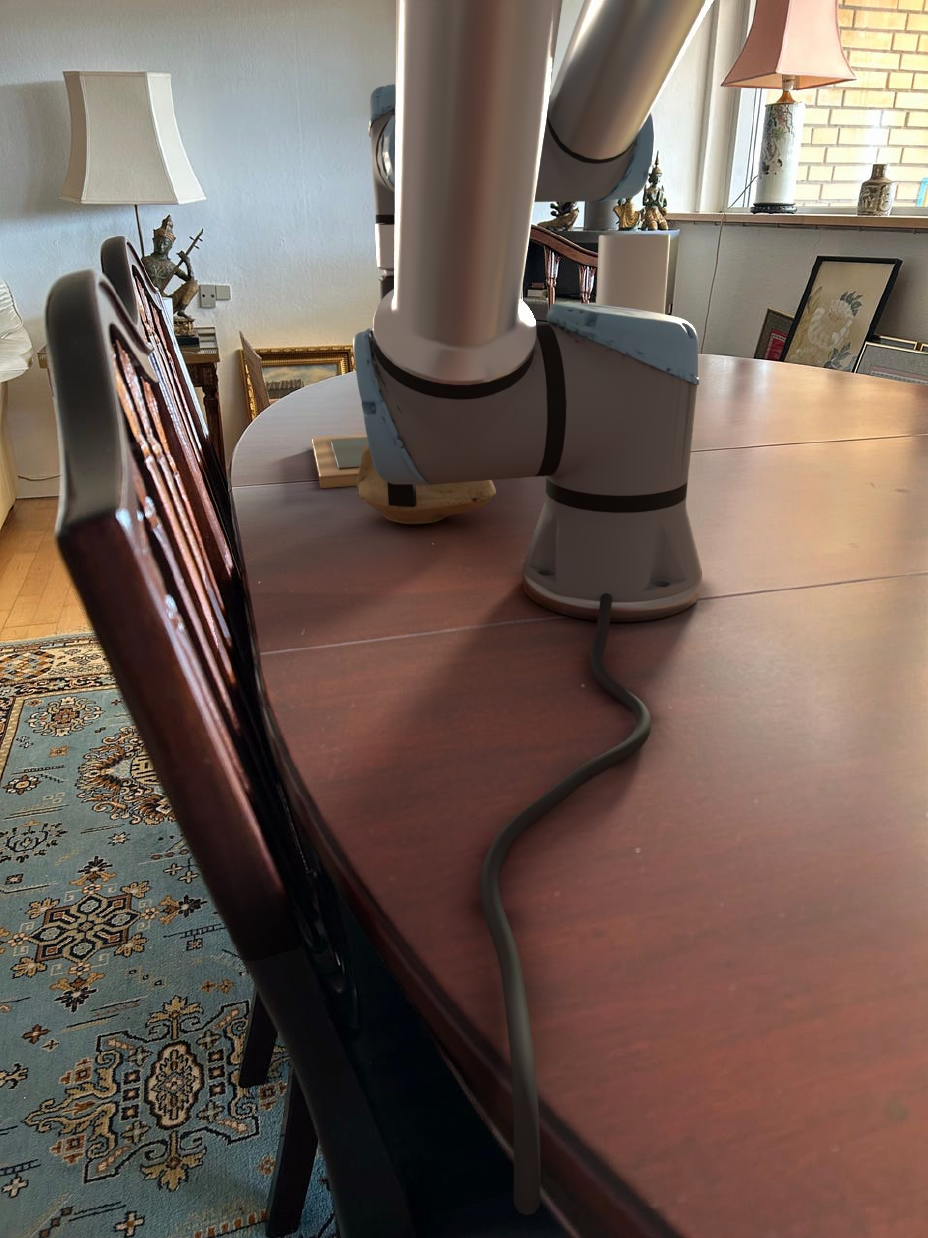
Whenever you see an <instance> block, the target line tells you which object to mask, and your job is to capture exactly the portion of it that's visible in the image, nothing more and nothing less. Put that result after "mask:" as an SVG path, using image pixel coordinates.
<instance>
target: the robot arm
mask: <svg viewBox="0 0 928 1238" xmlns="http://www.w3.org/2000/svg"><path fill="white" fill-rule="evenodd" d="M713 1H714V0H583V2H582V6H581V8H580V11H579V13H578V16H577V19H576V22H575V25H574V27H573V30H572V33H571V36H570V39H569V41H568V44H567V47H566V50H565V52H564V55H563V58H562V61H561V64H560V67H559V69H558V72H557V74H556V78H555V79H554V80H555V81H554V83H553V86H552V79H553V71H554V64H555V58H556V57H555V55H556V51H557V45H558V44H557V43H558V35H559V30H560V22H561V15H562V8H563V0H395V83H394V84H392V83H391V84H387V85H385V86H384V85H382V86H378V87H376V88H375V89H373V91H372V92H371V94H370V97H369V125H368V136H369V138H370V147H371V150H370V151H371V167H372V181H373V192H374V205H375V224H374V225H375V227H374V228H375V245H376V246H375V247H376V266H377V268H378V269H379V270H381V271H383V275H381V276H380V278H379V279H378V290H379V291H378V295H379V303H378V304H377V306H376V309H375V312H374V315H373V318H372V327H373V328H370V327H368V328H366V329H365V330H364V331H359V332H357V333H356V334H355V335H354V336H353V338H352V351H353V360H354V368H355V375H356V380H357V381H356V382H357V387H358V394H359V397H360V400H361V409H362V413H363V421H364V428H365V432H366V435H367V438H368V443H369V448H370V453H371V457H372V461H373V465H374V468H375V470H376V472H377V474H378V475H379V476H380V477H381V478H382V479H383V480H384V481H386V482H387V485H388V503H389V505H391V506H403V507H415V506H416V505H417V502H416V484H418V485H424V486H428V485H430V486H432V485H434V484H445V483H458V482H471V481H485V480H491V481H496V480H510V479H522V478H523V479H524V478H536V477H545V495H544V496H545V498H544V503H543V506H542V509H541V511H540V515H539V518H538V520H537V523H536V526H535V530H534V531H533V535H532V538H531V540H530V543H529V546H528V549H527V552H526V555H525V557H524V561H523V566H522V587H523V590H524V592H525V594H526V595H527V596H528V597H529V598H530V599H531V600H532V601H534V602H535V603H537V604H538V605H540V606H542V607H544V608H545V609H548V610H550V611H552V612H556V613H558V614H561V615H565V616H569V617H573V618H576V619H577V618H578V619H582V620H583V619H584V620H589V621H597V622H596V628H595V629H596V630H595V633H594V634H595V635H594V639H593V642H592V646H591V651H590V668H591V669H590V670H591V672H592V675H593V677H594V679H596V681H597V683H599V685H600V686H601V687H602V688H603V689H604V691H606V692H607V693H608V694H610V696H611V697H613V698H614V699H615V700H617V701H618V702H620V703H621V704H622V705H624V707H626V708H627V709H628V710H629V711H631V713H632V714H633V716H634V718H635V721H636V724H635V728H634V730H633V731H632V733H631V734H630V735H629V737H628V738H626V739H625V740H624V741H622V742H621V743H619V744H617V745H616V746H614V747H612V748H611V749H609V750H607V751H605V752H603V753H601V754H600V755H597V756H596V757H593V758H592V759H590V760H588V761H586V762H585V763H584V764H581V765H580V766H578V767H577V768H575V769H574V770H572V771H571V772H570V773H569V774H568V775H566V776H565V777H564V778H563V779H561V780H560V781H559V782H558V783H556V785H554V786H553V787H551V788H550V789H549V790H547V791H546V792H545V793H543V794H542V795H541V796H539V797H538V798H537V799H535V800H534V801H532V802H531V803H530V804H529V805H528V806H526V807H525V808H524V809H522V810H521V811H520V812H519V813H518V814H516V815H515V816H514V817H513V818H512V819H511V820H510V821H508V823H507V824H506V825H505V826H503V828H502V829H501V830H500V831H499V833H498V834H497V836H496V837H495V838H494V839H493V841H492V843H491V845H490V847H489V848H488V850H487V853H486V855H485V856H484V860H483V863H482V866H481V871H480V878H479V879H480V881H479V891H480V900H481V901H480V902H481V906H482V911H483V914H484V918H485V922H486V924H487V927H488V930H489V934H490V937H491V939H492V943H493V946H494V950H495V953H496V956H497V960H498V961H497V962H498V965H499V969H500V975H501V982H502V983H501V984H502V990H503V1001H504V1008H505V1015H506V1016H505V1018H506V1026H507V1035H508V1045H509V1056H510V1065H511V1066H510V1067H511V1068H510V1069H511V1081H512V1082H511V1087H512V1114H513V1118H512V1119H513V1204H514V1205H513V1206H515V1208H516V1210H517V1212H518V1213H520V1214H522V1215H524V1216H529V1215H533V1214H536V1212H537V1210H538V1209H539V1207H540V1206H541V1137H540V1136H541V1135H540V1134H541V1133H540V1114H539V1113H540V1112H539V1095H538V1094H539V1093H538V1078H537V1069H536V1058H535V1049H534V1042H533V1034H532V1027H531V1022H530V1021H531V1020H530V1014H529V1007H528V1001H527V993H526V987H525V979H524V973H523V968H522V962H521V958H520V954H519V949H518V946H517V943H516V941H515V937H514V934H513V932H512V928H511V926H510V923H509V921H508V918H507V915H506V912H505V909H504V906H503V902H502V899H501V893H500V877H501V872H502V870H503V869H502V868H503V865H504V863H505V860H506V858H507V856H508V854H509V852H510V850H511V848H512V847H513V846H514V844H515V843H516V841H517V840H518V839H519V838H520V837H522V835H523V834H524V833H525V832H526V831H527V830H529V828H530V827H531V826H533V825H534V824H536V822H538V821H539V820H541V819H542V818H543V817H544V816H546V815H547V814H548V813H550V812H551V811H552V810H553V809H555V808H556V807H557V806H559V805H560V804H561V803H563V802H564V801H565V800H566V799H567V798H569V797H570V795H572V794H573V793H574V792H575V791H577V790H578V789H579V788H580V787H582V786H583V785H585V784H586V783H587V782H589V781H590V780H592V779H593V778H595V777H597V776H598V775H600V774H602V773H604V772H606V771H608V770H609V769H611V768H613V767H615V766H616V765H618V764H620V763H622V762H623V761H625V760H627V759H628V758H630V757H631V756H632V755H634V754H635V753H636V752H637V751H638V750H640V748H642V747H643V745H644V744H645V743H646V742H647V740H648V738H649V737H650V734H651V730H652V715H651V714H650V711H649V709H648V708H647V706H646V705H645V704H644V702H643V701H641V699H640V698H639V697H637V696H636V695H635V694H634V693H632V692H631V691H630V690H628V689H627V688H626V687H624V686H623V685H622V684H620V683H619V682H617V681H616V679H614V678H613V677H612V676H611V674H609V671H607V668H606V666H605V661H604V655H605V651H606V646H607V642H608V638H609V632H610V622H611V623H613V622H616V623H625V622H626V623H630V622H642V621H643V622H644V621H650V620H656V619H662V618H665V617H670V616H673V615H675V614H678V613H680V612H683V611H685V610H686V609H688V608H690V607H692V606H693V605H694V604H695V603H696V602H697V601H698V599H699V598H700V595H701V589H702V578H703V569H702V564H701V562H700V556H699V553H698V548H697V544H696V540H695V536H694V532H693V528H692V524H691V520H690V516H689V512H688V508H687V497H688V486H689V485H688V484H689V475H690V464H691V463H690V462H691V453H692V444H693V443H692V442H693V433H694V422H695V413H696V404H697V403H696V401H697V393H698V392H697V391H698V386H700V383H701V381H700V377H699V336H698V332H697V331H696V329H695V327H694V326H693V325H692V324H691V323H689V321H687V320H685V319H683V318H680V317H678V316H673V315H668V314H666V313H665V314H660V313H654V312H648V311H642V310H635V309H628V308H621V307H613V306H604V305H596V303H595V304H594V303H583V302H571V303H570V302H561V301H560V302H554V303H552V304H551V305H550V307H549V310H548V312H547V314H546V316H545V317H546V321H547V323H540V324H539V323H538V324H537V323H536V319H535V318H534V315H533V313H532V311H531V310H530V308H529V306H528V305H527V304H526V303H525V302H524V301H523V300H522V299H521V297H522V291H523V283H524V276H525V269H526V261H527V256H528V255H527V254H528V249H529V248H528V247H529V241H530V234H531V227H532V221H533V214H534V213H533V212H534V206H535V203H570V202H571V203H572V202H573V203H575V202H578V203H579V202H587V203H589V204H590V203H591V204H600V203H604V202H606V201H616V200H626V199H632V198H633V197H635V196H637V195H638V194H639V193H640V192H641V191H642V190H643V189H644V188H645V186H646V184H647V182H648V179H649V174H650V168H651V167H652V166H653V162H654V155H655V140H656V136H655V135H656V133H655V123H654V118H653V116H652V113H651V111H652V110H653V108H654V106H655V105H656V103H657V101H658V99H659V98H660V96H661V94H662V92H663V90H664V88H665V87H666V85H667V83H668V81H669V80H670V78H671V76H672V74H673V72H674V71H675V69H676V67H677V65H678V63H679V62H680V60H681V58H682V56H683V55H684V53H685V52H686V49H687V47H688V46H689V44H690V41H691V40H692V38H693V37H694V35H695V33H696V31H697V30H698V28H699V26H700V24H701V22H702V21H703V18H704V17H705V15H706V13H707V11H708V10H709V8H710V6H711V4H712V3H713ZM551 86H552V89H551ZM550 91H551V92H550Z"/></svg>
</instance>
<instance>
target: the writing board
mask: <svg viewBox="0 0 928 1238" xmlns="http://www.w3.org/2000/svg"><path fill="white" fill-rule="evenodd" d="M368 444H369V443H368V438H367V434H356V435H340V436H325V437H323V436H322V437H312V438H311V447H312V452H313V453H312V454H313V456H314V463H315V466H316V472H317V476H318V481H319V486H320V489H329V488H330V489H331V488H342V487H343V488H345V487H356V485H357V479H358V474H359V467H360V464H361V457H362V453H363V451H364V449H365V447H366V446H367V445H368Z"/></svg>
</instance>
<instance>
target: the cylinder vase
mask: <svg viewBox="0 0 928 1238" xmlns="http://www.w3.org/2000/svg"><path fill="white" fill-rule="evenodd" d="M670 245H671V234H668V233H626V234H625V233H624V234H623V233H621V234H620V233H619V234H602V235H598V252H597V273H596V274H597V275H596V278H597V280H596V301H595V302H596V303H595V305H604V306H613V307H621V308H628V309H635V310H642V311H648V312H654V313H660V314H665V315H666V299H667V287H668V286H667V285H668V272H669V258H670Z"/></svg>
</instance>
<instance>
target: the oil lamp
mask: <svg viewBox="0 0 928 1238" xmlns="http://www.w3.org/2000/svg"><path fill="white" fill-rule="evenodd" d="M355 487H356V489H357V490H358V495H359V497H360V499H361V500H363V501H364V502H365V503H367V504H368V505H369V506H370V507H372V508H374V509H375V510H376V511H377V512H379V513H381V514H382V516H384V519H386V520H389V521H391V522H395V523H399V524H403V525H424V524H432V523H438V522H440V521H443V520H444V519H446V518H447V517H450V516H455V515H461V514H464V513H469V512H472V511H475V510H476V511H477V510H479V509H480V508H483V507H484V506H485V505H486V504H488V503H489V502H490V501H491V500H492V499H493V498H494V497H495V496H496V495H497V491H496V490H497V489H496V487H495V485H494V482H493V480H485V481H471V482H458V483H445V484H434V485H432V486H430V485H428V486H424V485H418V484H416V502H417V505H416V506H415V507H403V506H391V505H389V503H388V485H387V482H386V481H384V480H383V479H382V478H381V477H380V476H379V475H378V474H377V472H376V470H375V468H374V465H373V461H372V457H371V453H370V448H369V444H368V445H367V446H366V447H365V449H364V451H363V453H362V457H361V464H360V467H359V474H358V479H357V485H356V486H355Z"/></svg>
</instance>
